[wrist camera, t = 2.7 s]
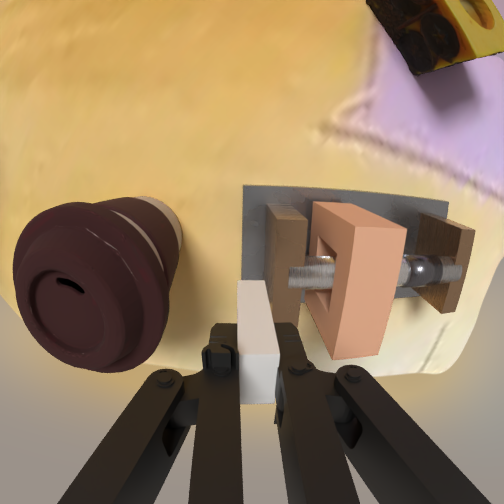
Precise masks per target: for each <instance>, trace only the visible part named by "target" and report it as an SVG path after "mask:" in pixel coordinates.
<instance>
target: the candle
mask: <svg viewBox="0 0 504 504" xmlns="http://www.w3.org/2000/svg"><path fill="white" fill-rule="evenodd" d="M366 2H367V3H368V4H369V5H370V7H371V9H372V10H373V11H374V12H375V14H376V15H377V17H378V19H379V21H380V22H381V23H382V24H383V26H384V27H385V29H386V31H387V32H388V34H389V35H390V36H391V38H392V39H393V42H394V43H395V44H396V46H397V48H398V49H399V50H400V52H401V53H402V55H403V56H404V58H405V60H406V62H407V64H408V66H409V69H410V70H411V71H412V73H413V74H414V75H416V76H419V75H421V74H425V73H428V72H432V71H435V70H439V69H441V68H444V67H445V68H446V67H449V66H453V65H454V64H458V63H462V62H466V61H470V60H474V59H476V58H482V57H486V56H492V55H496V54H497V53H502V52H504V20H503V18H502V16H501V15H500V13H499V11H498V10H497V8H496V6H495V5H494V3H493V2H492V0H366Z"/></svg>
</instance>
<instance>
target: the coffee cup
mask: <svg viewBox="0 0 504 504" xmlns="http://www.w3.org/2000/svg"><path fill="white" fill-rule="evenodd" d="M181 243H182V232H181V227H180V224H179V221H178V219H177V217H176V215H175V214H174V213H173V211H172V210H171V209H170V208H169V207H168V206H167V205H166V204H164V203H163V202H161V201H159V200H157V199H155V198H151V197H145V196H140V197H134V198H132V197H123V198H117V199H112V200H107V201H102V202H98V203H93V204H91V203H85V202H71V203H65V204H62V205H59V206H56V207H53V208H50V209H48V210H45V211H43V212H41V213H40V214H38V215H37V216H35V217H34V218H33V219H32V220H31V221H30V222H29V223H28V224H27V225H26V227H25V228H24V230H23V231H22V233H21V235H20V237H19V239H18V241H17V245H16V248H15V252H14V259H13V280H14V286H15V291H16V300H17V304H18V308H19V311H20V314H21V316H22V318H23V321H24V323H25V325H26V326H27V328H28V330H29V331H30V333H31V334H32V336H33V337H34V338H35V339H36V340H37V342H38V343H39V344H40V345H41V346H42V347H43V348H44V349H45V350H46V351H47V352H48V353H50V354H51V355H52V356H54V357H55V358H57V359H59V360H60V361H62V362H64V363H66V364H69V365H71V366H74V367H77V368H83V369H88V370H91V371H96V372H101V373H115V372H123V371H127V370H130V369H133V368H135V367H137V366H138V365H140V364H142V363H143V362H145V361H146V360H147V359H148V358H149V357H150V356H151V355H152V354H153V353H154V351H155V350H156V348H157V346H158V345H159V342H160V340H161V338H162V335H163V332H164V329H165V327H166V323H167V320H168V314H169V291H170V287H171V284H172V281H173V278H174V274H175V271H176V268H177V265H178V259H179V251H180V248H181Z"/></svg>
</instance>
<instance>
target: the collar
mask: <svg viewBox="0 0 504 504" xmlns="http://www.w3.org/2000/svg"><path fill="white" fill-rule="evenodd" d="M406 233H407V229H406V228H404V227H402V226H400V225H398V224H396V223H394V222H391V221H389V220H387V219H385V218H383V217H381V216H378V215H376V214H374V213H372V212H370V211H367V210H365V209H363V208H361V207H358V206H356V205H354V204H351V203H335V202H316V201H313V209H312V223H311V235H310V247H309V256H337V258H336V266H335V274H334V281H333V288H332V289H305V296H304V300H305V302H306V304H307V306H308V308H309V311H310V313H311V315H312V317H313V319H314V321H315V324H316V326H317V328H318V330H319V332H320V334H321V337H322V339H323V341H324V343H325V345H326V348H327V350H328V352H329V354H330V356H331V359H332V360H341V359H350V358H358V357H366V356H373V355H378V353H379V349H380V346H381V343H382V340H383V336H384V333H385V329H386V326H387V322H388V319H389V315H390V311H391V307H392V303H393V299H394V295H395V291H396V286H397V282H398V277H399V272H400V267H401V262H402V257H403V251H404V246H405V240H406Z"/></svg>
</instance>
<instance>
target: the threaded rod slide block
mask: <svg viewBox="0 0 504 504" xmlns="http://www.w3.org/2000/svg"><path fill="white" fill-rule="evenodd" d="M313 201H316V202H335V203H351V204H354V205H356V206H358V207H361V208H363V209H365V210H367V211H370V212H372V213H374V214H376V215H378V216H381V217H383V218H385V219H387V220H389V221H391V222H394V223H396V224H398V225H400V226H402V227H404V228H406V229H407V233H406V240H405V246H404V251H403V257H402V262H401V267H400V272H399V277H398V282H397V286H396V291H395V295H394V298H402V297H415V296H421V297H423V298H424V299H425V300H426V301H427V302H428V303H429V304H431V305H432V306H433V307H434V308H435V309H436V310H437V311H439V312H440V313H441V314H443V313H450V312H455V310H456V307H457V304H458V301H459V298H460V294H461V291H462V287H463V284H464V280H465V276H466V272H467V268H468V264H469V260H470V256H471V251H472V246H473V241H474V236H475V230H474V229H471V228H469V227H467V226H464V225H462V224H459V223H457V222H454V221H451V220H449V219H447V213H448V205H449V202H447V201H443V200H436V199H429V198H421V197H414V196H405V195H397V194H388V193H378V192H368V191H357V190H345V189H331V188H316V187H298V186H274V185H243V212H242V267H241V280H264V281H265V285H266V290H267V295H268V299H269V304H270V309H271V313H272V318H273V323H283V322H291V323H292V324H293V325H294V326H295V327H298V319H299V311H300V303H302V302H305V300H304V296H305V289H332V288H333V281H334V274H335V266H336V258H337V256H309V247H310V235H311V223H312V209H313Z"/></svg>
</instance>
